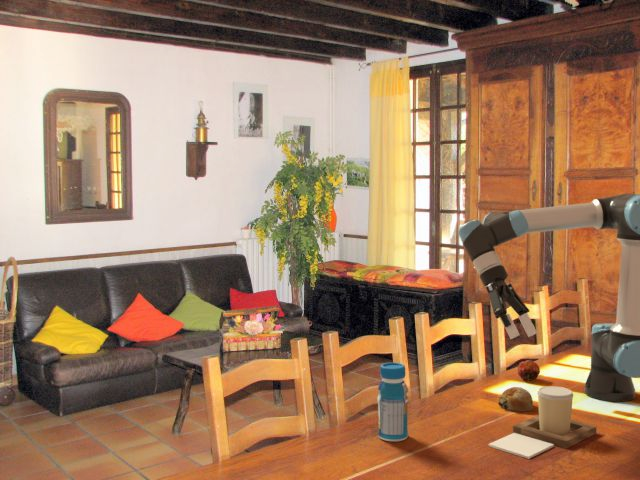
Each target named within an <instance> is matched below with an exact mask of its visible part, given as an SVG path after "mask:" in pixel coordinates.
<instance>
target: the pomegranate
mask: <svg viewBox="0 0 640 480" xmlns="http://www.w3.org/2000/svg"><path fill="white" fill-rule="evenodd" d="M540 372H541V368H540V366H539V364H538V363H537V362H535V361H533V360H532V359H526V360H523V361H521V362H519V364H518V365H517V374H518V376H519V377H520V378H521V379H522V380H524V381H525V380H528V381H527V382H528V384H529V383H530V380H531V381H532V380H537V379H538V378H539V377H538V376H539V375H540Z"/></svg>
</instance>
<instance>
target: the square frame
mask: <svg viewBox="0 0 640 480" xmlns="http://www.w3.org/2000/svg"><path fill="white" fill-rule="evenodd" d="M538 428H540V424H539V414H538V415H535V416H533V417H531V418H528V419H526V420H523V421H522V422H520V423H517V424H514V425H513V426H512V433H517V434H520V435H524V436H527V437H530V438H534V439H537V440H541V441H544V442H547V443H551V444H554V447H555V446H556V447H559V448H563V449H568V448H570V447H573V446H575V445H576V444H578V443H581V442H582V441H584V440H587V439H588V438H590V437H592V436H594V435H597V425H593V424H588V423H585V422H581V421H577V420H574V419H571V422H570V431H571V432H569V434H566V435H564V436H560V435H556V434H553V433H549V432H545V431H542V430H540V429H538Z"/></svg>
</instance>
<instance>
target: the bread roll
mask: <svg viewBox="0 0 640 480" xmlns="http://www.w3.org/2000/svg"><path fill="white" fill-rule="evenodd" d="M497 404H498V406H499V407H501V408H502V409H503V410H507V411H509V410H510V411H511V412H515V411H516V412H529V411H533V410H534V407H533V405H534V404H533V397H532V395H531V393H530V392H529V390H527V389H525V388H523V387H522V386H520V387H518V386H512V387H510V388H507V389H505V390H504V391H503V392H502V393H501V394H500V395H499V396H498V403H497Z"/></svg>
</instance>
